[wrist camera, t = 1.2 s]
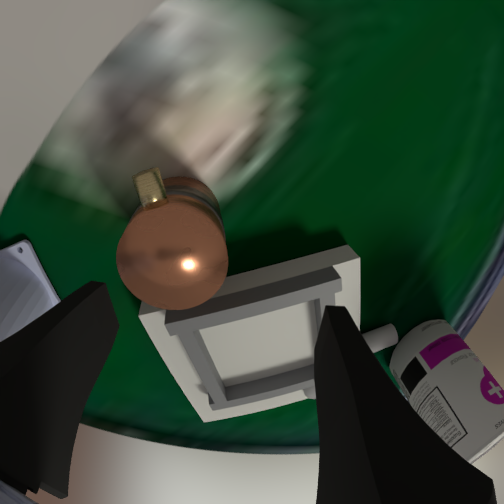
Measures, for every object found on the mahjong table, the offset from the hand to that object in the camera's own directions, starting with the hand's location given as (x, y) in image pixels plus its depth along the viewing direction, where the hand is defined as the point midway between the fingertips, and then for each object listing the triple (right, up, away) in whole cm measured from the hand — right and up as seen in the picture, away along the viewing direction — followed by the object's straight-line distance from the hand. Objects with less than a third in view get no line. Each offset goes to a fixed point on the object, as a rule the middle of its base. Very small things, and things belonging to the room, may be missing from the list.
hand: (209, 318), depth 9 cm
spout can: (-3, +4, +9) cm, 10 cm away
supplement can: (+19, -8, +19) cm, 28 cm away
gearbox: (+4, -5, +15) cm, 16 cm away
